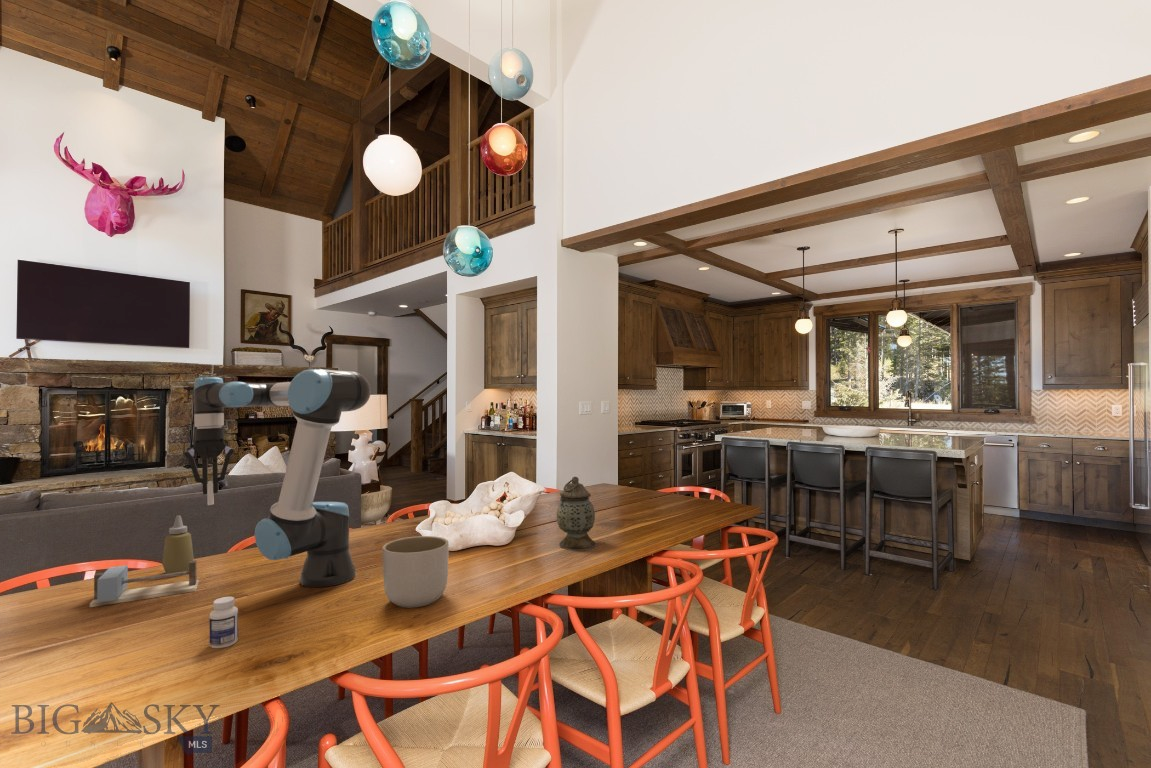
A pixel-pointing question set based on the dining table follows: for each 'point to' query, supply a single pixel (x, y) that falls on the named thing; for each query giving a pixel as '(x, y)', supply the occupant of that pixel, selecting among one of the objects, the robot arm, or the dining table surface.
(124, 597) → the rail
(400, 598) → the planter
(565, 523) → the lantern
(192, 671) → the dining table surface
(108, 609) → the dining table surface
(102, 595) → the block
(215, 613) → the pill bottle
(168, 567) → the squeeze bottle
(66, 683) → the dining table surface
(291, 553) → the robot arm
